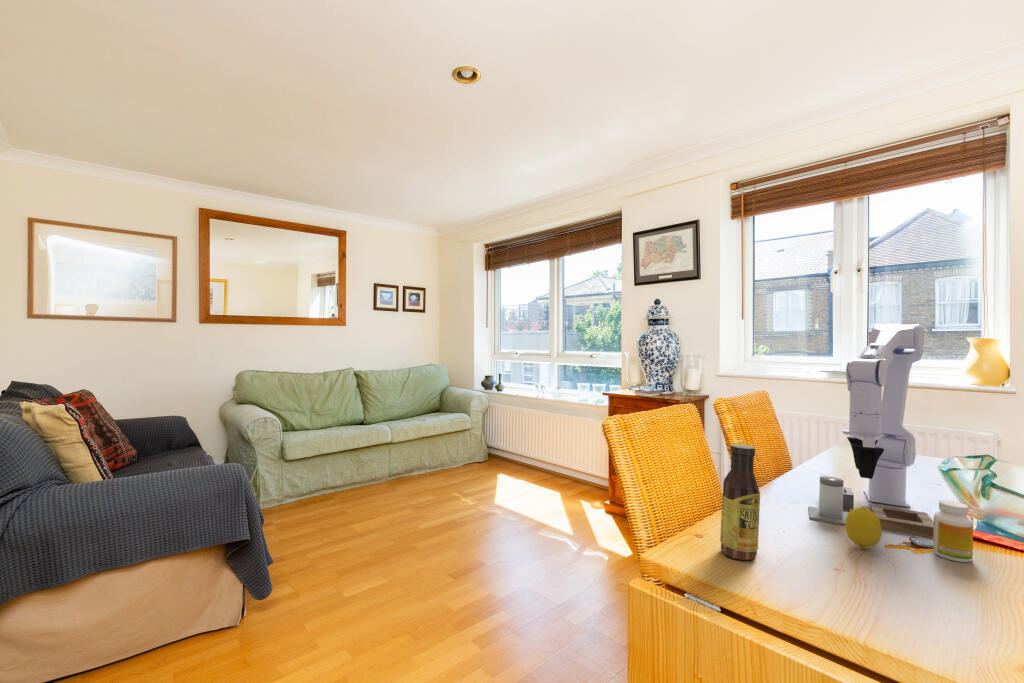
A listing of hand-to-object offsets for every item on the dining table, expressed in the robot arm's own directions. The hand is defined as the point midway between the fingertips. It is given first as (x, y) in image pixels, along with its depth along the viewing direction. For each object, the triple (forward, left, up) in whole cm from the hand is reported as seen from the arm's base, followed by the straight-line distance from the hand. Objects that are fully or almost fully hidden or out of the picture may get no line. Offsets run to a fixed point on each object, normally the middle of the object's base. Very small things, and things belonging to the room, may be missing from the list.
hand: (863, 473), depth 107 cm
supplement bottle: (+15, +12, -10) cm, 22 cm away
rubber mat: (+4, -6, -10) cm, 12 cm away
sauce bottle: (+35, -22, -10) cm, 43 cm away
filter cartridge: (+4, -6, -9) cm, 12 cm away
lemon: (+20, -2, -10) cm, 23 cm away
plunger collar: (-7, -4, -10) cm, 13 cm away
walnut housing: (+1, +7, -10) cm, 12 cm away
